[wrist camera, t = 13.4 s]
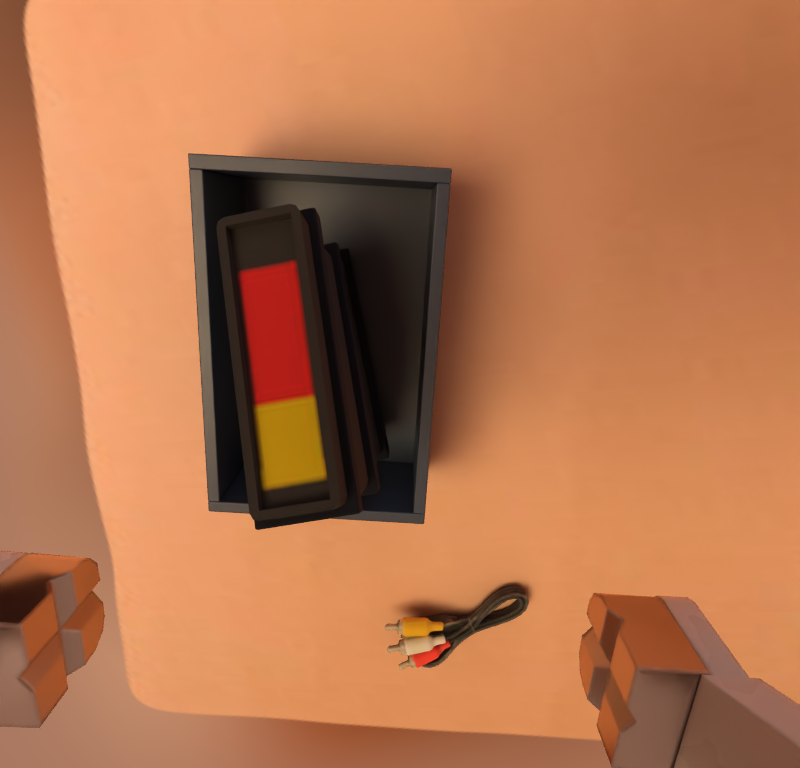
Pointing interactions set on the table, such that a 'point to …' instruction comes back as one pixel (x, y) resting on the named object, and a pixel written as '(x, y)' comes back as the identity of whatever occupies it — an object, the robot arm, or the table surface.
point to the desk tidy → (378, 294)
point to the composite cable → (452, 629)
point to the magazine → (299, 368)
